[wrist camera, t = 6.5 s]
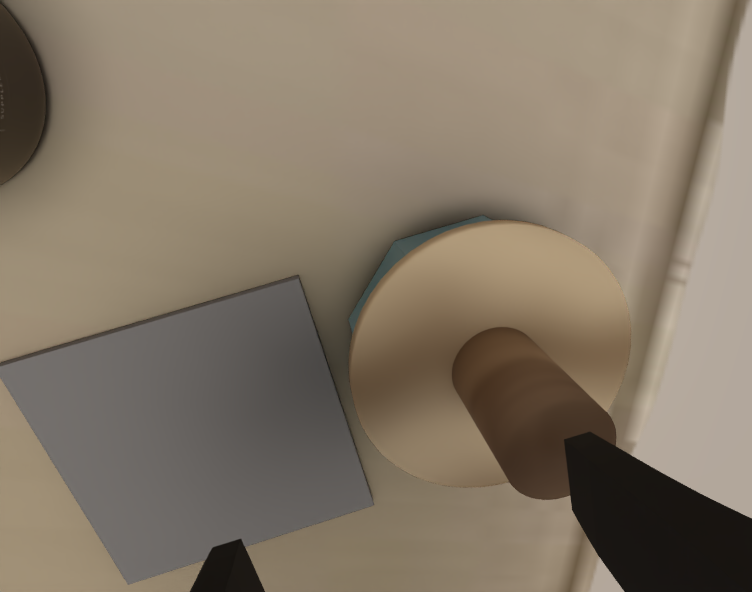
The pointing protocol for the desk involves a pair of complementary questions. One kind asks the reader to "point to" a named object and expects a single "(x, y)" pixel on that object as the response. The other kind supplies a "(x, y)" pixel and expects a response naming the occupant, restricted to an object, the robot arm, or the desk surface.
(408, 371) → the lid
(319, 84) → the desk surface
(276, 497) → the mat
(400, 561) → the desk surface
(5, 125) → the supplement bottle
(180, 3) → the desk surface
